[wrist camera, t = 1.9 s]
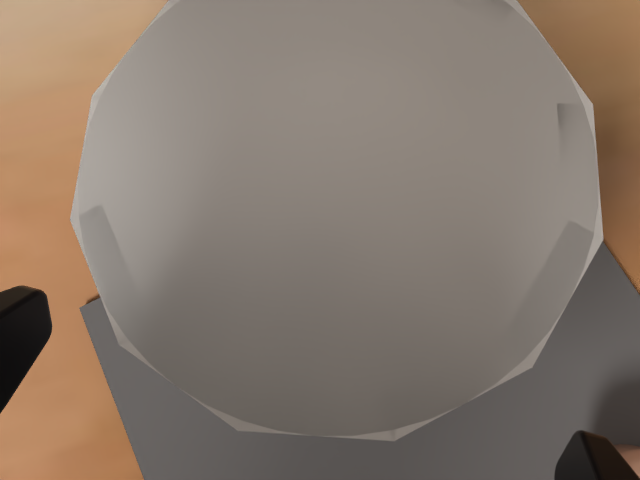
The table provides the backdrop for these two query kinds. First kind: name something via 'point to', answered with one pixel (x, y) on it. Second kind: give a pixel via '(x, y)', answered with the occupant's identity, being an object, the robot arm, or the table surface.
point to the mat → (427, 441)
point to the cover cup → (338, 206)
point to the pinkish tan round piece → (630, 455)
